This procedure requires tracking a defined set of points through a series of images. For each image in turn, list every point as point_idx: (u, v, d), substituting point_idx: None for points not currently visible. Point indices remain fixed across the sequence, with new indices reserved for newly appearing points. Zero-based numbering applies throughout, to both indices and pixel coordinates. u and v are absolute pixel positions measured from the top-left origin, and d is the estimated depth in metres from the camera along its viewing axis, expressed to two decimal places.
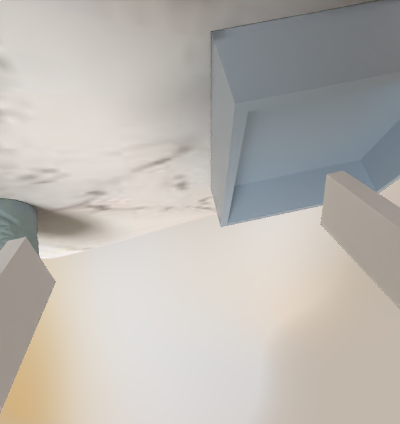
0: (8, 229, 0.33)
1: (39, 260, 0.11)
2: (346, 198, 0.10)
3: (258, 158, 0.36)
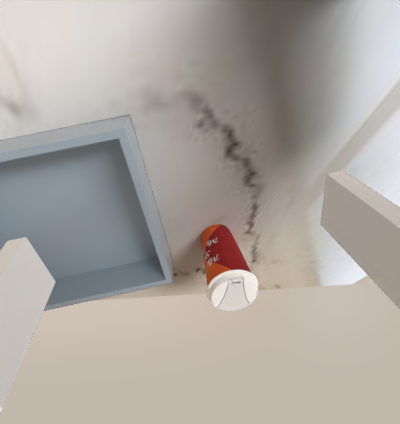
0: None
1: (39, 260, 0.11)
2: (346, 198, 0.10)
3: (20, 186, 0.38)
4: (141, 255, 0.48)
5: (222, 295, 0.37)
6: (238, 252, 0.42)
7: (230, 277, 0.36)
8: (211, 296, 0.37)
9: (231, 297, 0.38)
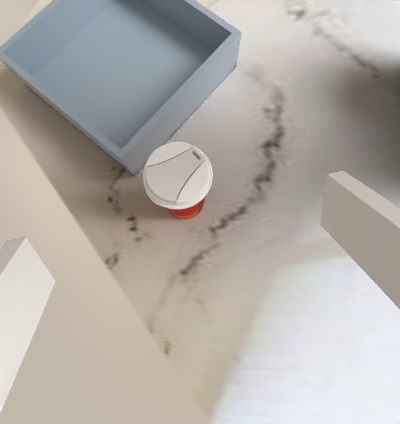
0: None
1: (39, 260, 0.11)
2: (346, 198, 0.10)
3: (133, 30, 0.46)
4: (119, 144, 0.42)
5: (168, 156, 0.28)
6: None
7: None
8: (159, 147, 0.28)
9: (172, 169, 0.28)
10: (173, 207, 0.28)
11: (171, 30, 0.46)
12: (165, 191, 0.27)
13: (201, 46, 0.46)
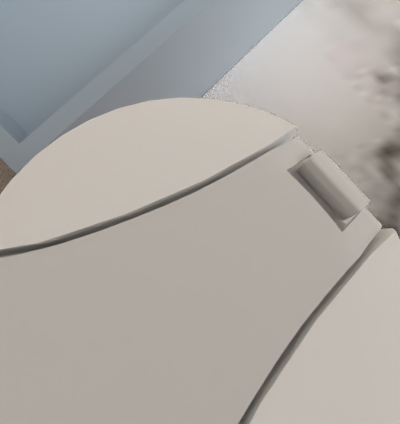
0: None
1: None
2: None
3: None
4: None
5: (133, 194, 0.04)
6: None
7: None
8: None
9: (150, 291, 0.04)
10: None
11: None
12: None
13: None
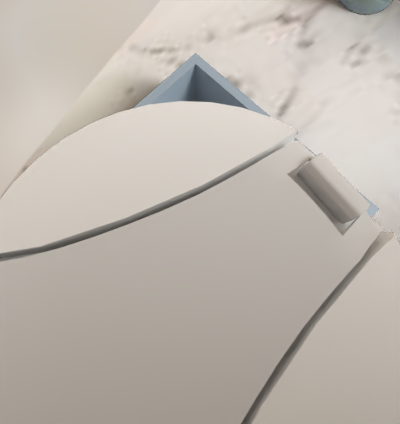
0: None
1: None
2: None
3: None
4: None
5: (134, 198, 0.04)
6: None
7: None
8: None
9: (151, 294, 0.04)
10: None
11: None
12: None
13: None
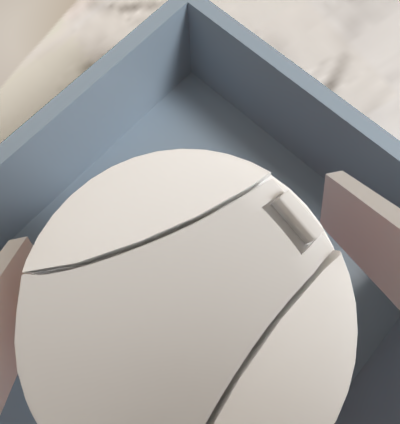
0: None
1: None
2: (345, 198, 0.10)
3: None
4: None
5: (146, 225, 0.05)
6: None
7: None
8: (102, 175, 0.06)
9: (159, 299, 0.05)
10: None
11: (293, 171, 0.20)
12: None
13: None
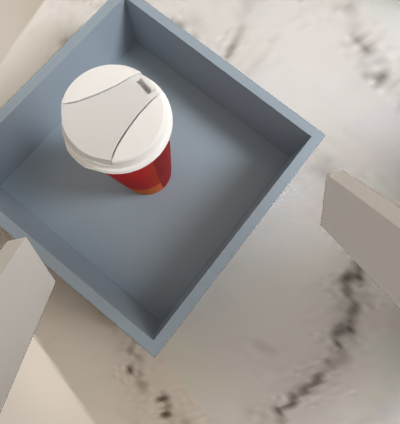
0: None
1: (39, 260, 0.11)
2: (346, 198, 0.10)
3: None
4: (140, 288, 0.29)
5: (99, 88, 0.17)
6: None
7: None
8: (83, 74, 0.18)
9: (104, 108, 0.17)
10: (110, 171, 0.18)
11: (205, 105, 0.32)
12: (93, 144, 0.17)
13: (250, 131, 0.32)
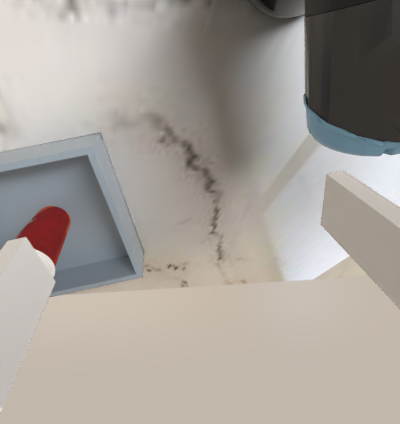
0: None
1: (39, 260, 0.11)
2: (346, 198, 0.10)
3: (6, 193, 0.44)
4: (116, 253, 0.54)
5: None
6: (47, 231, 0.40)
7: None
8: None
9: None
10: None
11: None
12: None
13: None
